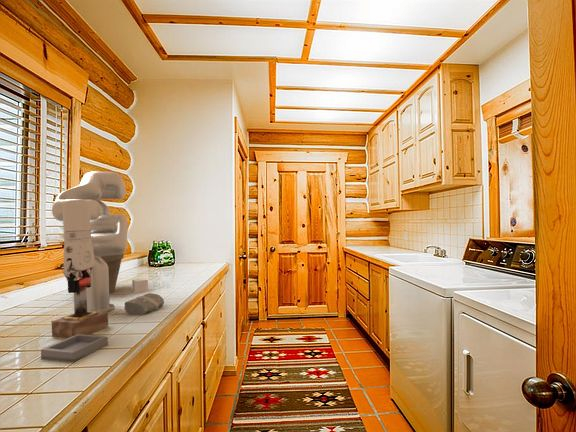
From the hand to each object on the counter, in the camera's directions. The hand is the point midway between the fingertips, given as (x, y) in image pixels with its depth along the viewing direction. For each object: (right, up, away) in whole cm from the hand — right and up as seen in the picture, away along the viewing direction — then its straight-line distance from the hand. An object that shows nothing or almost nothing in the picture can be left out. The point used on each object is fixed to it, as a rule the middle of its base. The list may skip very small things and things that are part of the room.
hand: (79, 289), depth 103 cm
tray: (+10, -14, -16) cm, 23 cm away
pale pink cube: (-6, -14, +55) cm, 57 cm away
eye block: (+1, -14, 0) cm, 14 cm away
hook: (0, -8, 0) cm, 8 cm away
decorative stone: (+12, -14, +21) cm, 28 cm away
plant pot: (-27, -15, +54) cm, 62 cm away
